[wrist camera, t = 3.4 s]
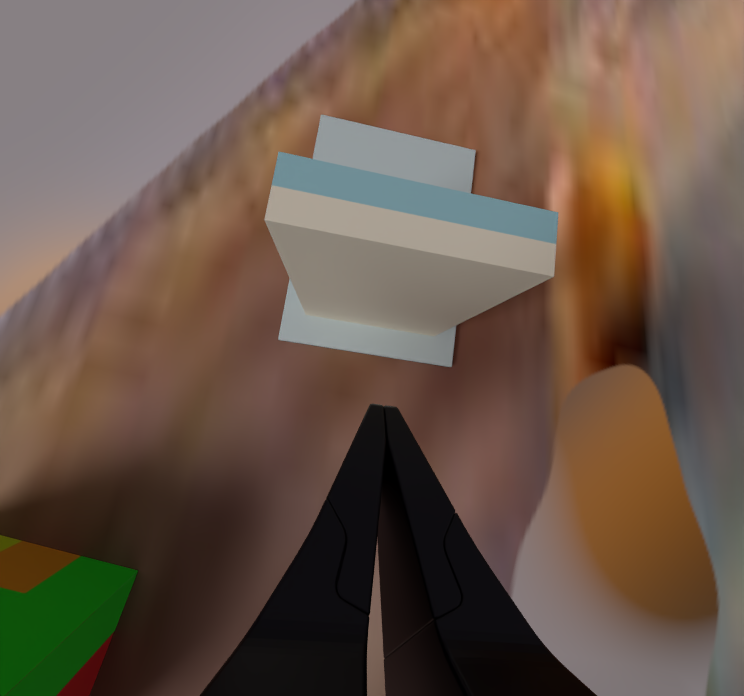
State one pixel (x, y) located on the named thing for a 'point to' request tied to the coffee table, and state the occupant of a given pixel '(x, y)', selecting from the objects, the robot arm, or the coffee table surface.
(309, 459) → the coffee table surface
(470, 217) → the tile
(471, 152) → the mat
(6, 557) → the puzzle toy
